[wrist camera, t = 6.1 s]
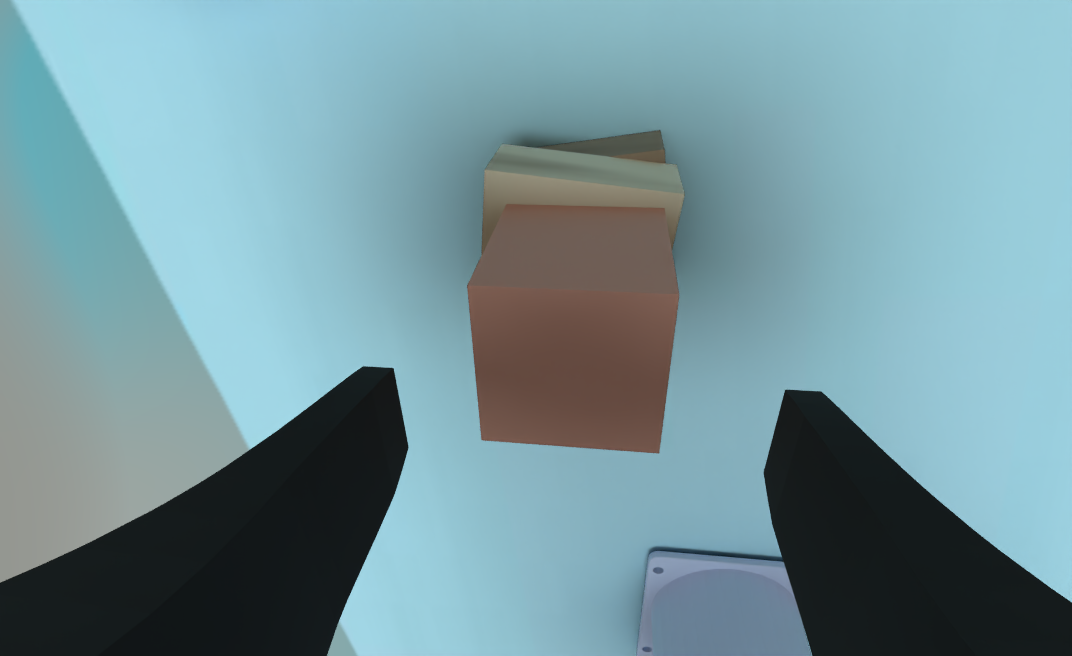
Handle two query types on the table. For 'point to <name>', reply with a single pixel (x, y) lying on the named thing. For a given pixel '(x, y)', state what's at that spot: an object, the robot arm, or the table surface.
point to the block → (574, 326)
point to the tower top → (577, 183)
